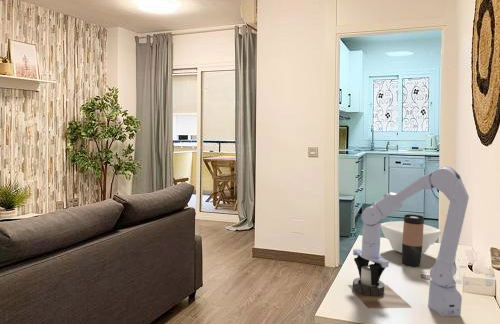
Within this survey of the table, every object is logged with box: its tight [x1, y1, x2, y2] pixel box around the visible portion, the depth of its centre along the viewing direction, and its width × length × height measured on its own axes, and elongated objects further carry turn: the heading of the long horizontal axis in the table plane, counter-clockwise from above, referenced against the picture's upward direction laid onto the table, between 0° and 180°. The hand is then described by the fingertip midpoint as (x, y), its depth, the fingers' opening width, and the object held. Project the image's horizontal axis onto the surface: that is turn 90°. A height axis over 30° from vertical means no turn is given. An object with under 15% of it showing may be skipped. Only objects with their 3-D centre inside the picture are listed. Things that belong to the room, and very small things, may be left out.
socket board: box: [347, 277, 412, 309], centre depth 136 cm, size 18×14×4 cm
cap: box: [361, 264, 376, 287], centre depth 140 cm, size 5×5×6 cm
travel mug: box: [401, 214, 425, 268], centre depth 171 cm, size 8×8×20 cm
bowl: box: [381, 220, 442, 255], centre depth 188 cm, size 22×22×12 cm
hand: (368, 281), depth 140 cm, fingers closed on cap, 5 cm apart
